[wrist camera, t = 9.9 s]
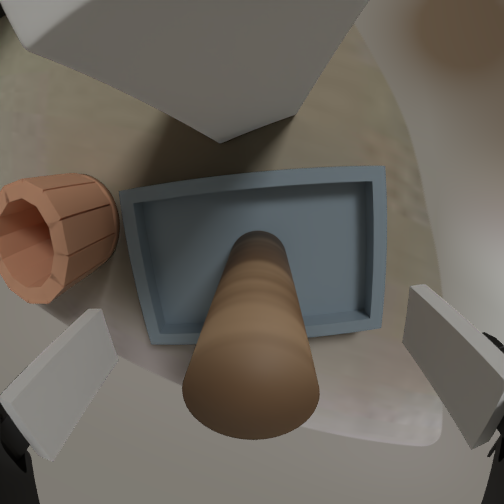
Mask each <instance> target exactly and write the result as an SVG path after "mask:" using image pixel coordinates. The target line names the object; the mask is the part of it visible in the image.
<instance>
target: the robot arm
mask: <svg viewBox="0 0 504 504" xmlns="http://www.w3.org/2000/svg"><path fill="white" fill-rule="evenodd" d="M3 15H5V12H4V10H3V8H2V5H1V3H0V17H2V16H3ZM402 343H403V344H404V345H405V347H406V348H407V350H408V351H409V353H410V354H411V355H412V357H413V358H414V360H415V361H416V363H417V364H418V366H419V367H420V369H421V370H422V372H423V373H424V374H425V376H426V377H427V379H428V380H429V382H430V384H431V385H432V387H433V388H434V390H435V391H436V393H437V394H438V396H439V397H440V399H441V400H442V402H443V404H444V405H445V407H446V408H447V410H448V412H449V413H450V415H451V416H452V418H453V420H454V421H455V423H456V425H457V426H458V428H459V429H460V431H461V433H462V435H463V436H464V438H465V440H466V441H467V443H468V445H469V447H470V448H471V450H472V449H474V448H476V447H478V446H480V445H482V444H484V443H486V442H488V441H489V440H490V438H491V437H492V435H493V434H494V432H495V430H496V429H498V431H499V432H500V434H501V435H500V437H499V438H498V440H497V441H496V443H495V444H494V446H493V447H492V449H491V450H490V451H489V454H488V456H487V457H490V456H491V455H492V453H493V452H494V450H495V454H494V459H493V464H492V468H491V472H490V476H489V480H488V484H487V487H486V491H485V494H484V497H483V500H482V503H481V504H504V345H503V344H502V343H501V342H500V341H498V340H497V339H496V338H495V337H493V336H491V335H489V334H487V333H485V332H484V333H481V332H480V331H479V330H478V329H477V328H476V327H475V326H474V325H473V324H471V323H470V322H469V321H468V320H467V319H466V318H465V317H464V316H462V315H461V314H460V313H459V312H458V311H457V310H456V309H454V308H453V307H452V306H451V305H450V304H448V303H447V302H446V301H445V300H444V299H443V298H441V297H440V296H439V295H438V294H437V293H435V292H434V291H433V290H432V289H431V288H429V287H428V286H427V285H426V284H421V285H414V286H410V290H409V299H408V307H407V315H406V322H405V329H404V335H403V341H402ZM117 362H118V356H117V354H116V351H115V348H114V345H113V342H112V339H111V337H110V334H109V331H108V327H107V324H106V321H105V318H104V315H103V311H102V309H88V310H86V311H85V312H84V313H83V314H82V315H81V316H80V317H79V318H78V319H77V320H75V321H74V322H73V323H72V324H71V325H70V326H69V327H68V328H67V329H66V330H65V331H64V332H63V333H61V334H60V335H59V336H58V337H57V338H56V339H55V340H54V341H53V342H52V343H51V344H50V345H49V346H48V347H47V348H46V349H45V350H44V351H43V352H42V353H41V354H40V355H39V356H38V357H37V358H36V359H35V360H34V361H33V362H32V363H31V364H30V365H29V366H27V367H26V368H25V369H24V370H23V371H22V372H21V373H20V375H18V376H17V377H16V378H15V379H14V381H13V382H12V383H11V384H10V385H9V386H8V387H7V388H6V389H5V390H4V391H3V392H2V393H1V394H0V504H40V503H39V499H38V494H37V489H36V484H35V479H34V473H33V467H32V460H31V456H30V454H29V452H28V451H27V448H28V447H29V445H30V446H31V447H32V448H33V450H34V451H35V452H36V453H37V454H38V456H40V457H42V458H45V459H47V460H50V461H52V462H53V461H54V460H55V458H56V456H57V455H58V453H59V451H60V450H61V448H62V446H63V445H64V443H65V442H66V440H67V438H68V437H69V435H70V433H71V432H72V430H73V429H74V427H75V426H76V424H77V422H78V421H79V419H80V418H81V416H82V414H83V413H84V411H85V410H86V408H87V407H88V405H89V404H90V402H91V401H92V399H93V397H94V396H95V394H96V393H97V391H98V390H99V388H100V387H101V386H102V384H103V383H104V381H105V380H106V378H107V377H108V375H109V374H110V372H111V371H112V369H113V368H114V366H115V365H116V363H117Z"/></svg>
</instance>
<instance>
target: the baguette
mask: <svg viewBox="0 0 504 504" xmlns="http://www.w3.org/2000/svg"><path fill="white" fill-rule="evenodd" d="M182 392H183V398H184V401H185V403H186V406H187V408H188V409H189V411H190V412H191V413H192V415H193V416H194V417H195V418H196V419H197V420H198V421H199V422H201V423H202V424H203V425H205V426H206V427H208V428H210V429H211V430H213V431H215V432H217V433H220V434H223V435H226V436H229V437H234V438H239V439H249V440H258V439H268V438H273V437H277V436H280V435H283V434H286V433H288V432H290V431H292V430H294V429H296V428H298V427H299V426H301V425H302V424H303V423H305V422H306V421H307V420H308V419H309V418H310V416H311V415H312V414H313V412H314V411H315V409H316V407H317V404H318V401H319V395H320V393H319V385H318V380H317V376H316V372H315V367H314V363H313V359H312V354H311V350H310V346H309V342H308V337H307V333H306V329H305V325H304V321H303V317H302V313H301V309H300V305H299V301H298V297H297V293H296V289H295V285H294V281H293V277H292V273H291V270H290V266H289V262H288V258H287V254H286V251H285V248H284V245H283V244H282V242H281V241H280V240H279V239H278V238H277V237H276V236H275V235H273V234H271V233H269V232H266V231H260V230H259V231H251V232H248V233H245V234H244V235H242V236H241V237H239V238H238V239H237V240H236V242H235V243H234V245H233V247H232V250H231V252H230V255H229V257H228V260H227V263H226V265H225V268H224V271H223V273H222V276H221V279H220V281H219V284H218V287H217V289H216V292H215V295H214V298H213V300H212V303H211V306H210V308H209V311H208V314H207V317H206V319H205V322H204V325H203V328H202V330H201V333H200V336H199V339H198V341H197V344H196V347H195V350H194V352H193V355H192V358H191V361H190V364H189V366H188V369H187V372H186V375H185V378H184V381H183V386H182Z"/></svg>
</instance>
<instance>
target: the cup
mask: <svg viewBox="0 0 504 504" xmlns="http://www.w3.org/2000/svg"><path fill="white" fill-rule="evenodd" d="M119 231H120V222H119V214H118V210H117V206H116V203H115V201H114V199H113V197H112V195H111V193H110V192H109V190H108V189H107V188H106V187H105V186H104V185H103V184H102V183H101V182H100V181H99V180H97V179H96V178H94V177H92V176H89V175H85V174H77V173H69V174H59V175H50V176H41V177H33V178H25V179H20V180H18V181H15V182H13V183H10V184H8V185H5V186H4V187H3V188H2V189H1V191H0V274H1V276H2V277H3V279H4V281H5V282H6V284H7V286H8V287H9V288H10V290H11V291H13V292H14V293H15V294H17V295H18V296H19V297H21V298H22V299H23V300H25V301H26V302H28V303H32V304H48V303H50V302H52V301H53V300H54V299H56V298H57V297H58V296H60V295H61V294H63V293H64V292H65V291H67V290H68V289H70V288H71V287H72V286H74V285H75V284H77V283H78V282H79V281H81V280H82V279H84V278H85V277H87V276H88V275H90V274H91V273H92V272H94V271H95V270H96V269H97V268H98V267H99V266H101V265H102V264H104V263H105V262H106V261H107V260H108V259H109V258H110V257H111V255H112V254H113V252H114V250H115V248H116V245H117V242H118V238H119Z"/></svg>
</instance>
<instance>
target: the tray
mask: <svg viewBox="0 0 504 504" xmlns="http://www.w3.org/2000/svg"><path fill="white" fill-rule="evenodd" d="M119 197H120V204H121V211H122V217H123V223H124V229H125V235H126V240H127V246H128V251H129V256H130V261H131V266H132V270H133V275H134V279H135V284H136V288H137V292H138V297H139V301H140V305H141V309H142V312H143V316H144V320H145V324H146V327H147V331H148V334H149V338H150V341H151V344H167V345H178V344H197V341H198V339H199V336H200V333H201V330H202V328H203V325H204V322H205V319H206V317H207V314H208V311H209V308H210V306H211V303H212V300H213V298H214V295H215V292H216V289H217V287H218V284H219V281H220V279H221V276H222V273H223V271H224V268H225V265H226V263H227V260H228V257H229V255H230V252H231V250H232V247H233V245H234V243H235V242H236V240H237V239H238V238H239V237H241V236H242V235H244V234H245V233H248V232H251V231H259V230H260V231H266V232H269V233H271V234H273V235H275V236H276V237H277V238H278V239H279V240H280V241H281V242H282V244H283V245H284V248H285V251H286V254H287V258H288V262H289V266H290V270H291V273H292V277H293V281H294V285H295V289H296V293H297V297H298V301H299V305H300V309H301V313H302V317H303V321H304V325H305V329H306V333H307V337H308V338H309V337H318V336H327V335H335V334H343V333H351V332H358V331H365V330H372V329H378V328H381V324H382V314H383V303H384V291H385V275H386V252H387V197H386V174H385V166H342V167H319V168H301V169H286V170H273V171H261V172H250V173H240V174H231V175H222V176H214V177H205V178H198V179H190V180H183V181H176V182H169V183H163V184H156V185H150V186H144V187H139V188H133V189H128V190H123V191H119Z"/></svg>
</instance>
